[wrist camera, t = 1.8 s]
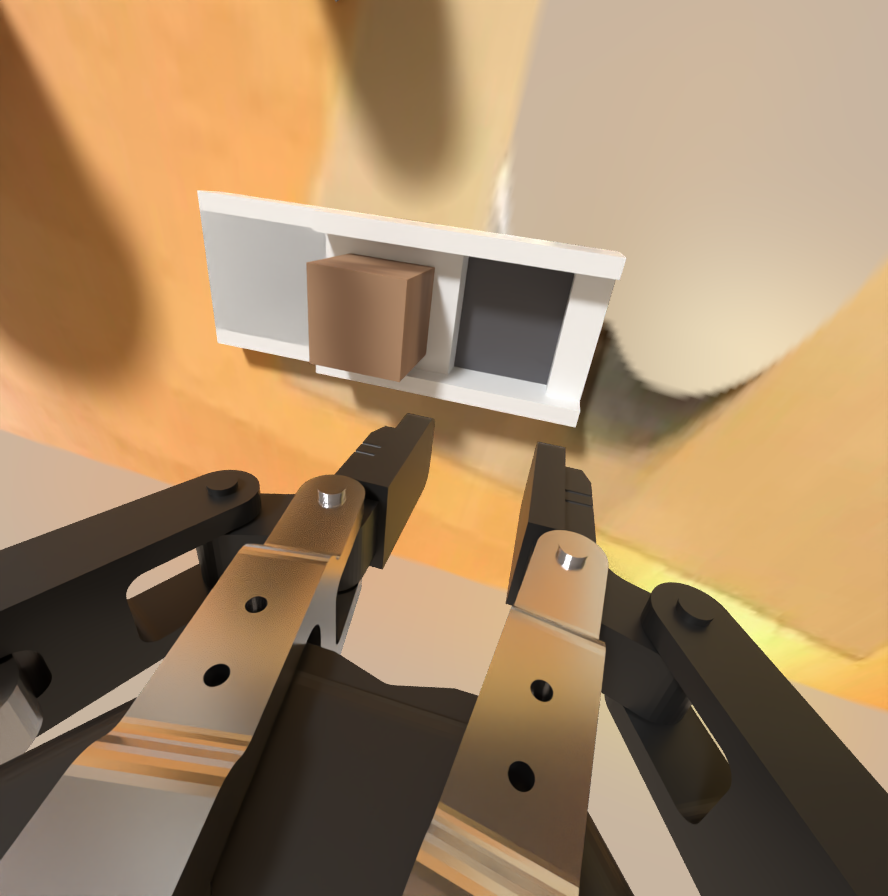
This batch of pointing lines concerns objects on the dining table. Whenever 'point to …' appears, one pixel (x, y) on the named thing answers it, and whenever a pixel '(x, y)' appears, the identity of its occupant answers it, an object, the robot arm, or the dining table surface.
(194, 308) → the dining table surface
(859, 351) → the dining table surface
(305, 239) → the channel
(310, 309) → the walnut block
